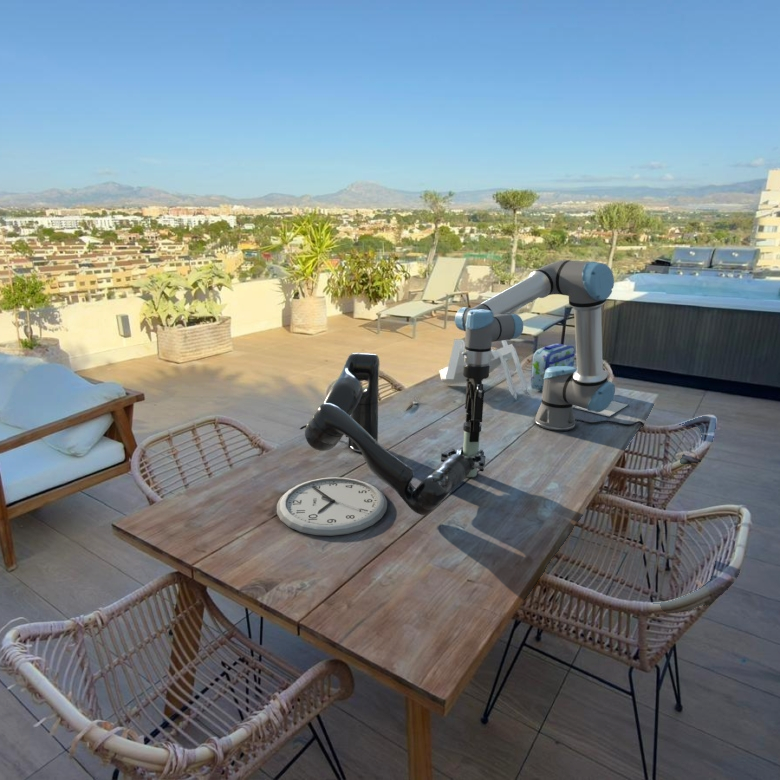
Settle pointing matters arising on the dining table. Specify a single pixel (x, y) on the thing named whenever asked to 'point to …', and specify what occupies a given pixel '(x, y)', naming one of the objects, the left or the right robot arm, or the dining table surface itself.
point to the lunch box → (550, 361)
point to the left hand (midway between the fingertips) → (473, 450)
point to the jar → (470, 451)
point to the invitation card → (607, 409)
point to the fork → (413, 403)
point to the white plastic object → (502, 355)
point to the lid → (467, 427)
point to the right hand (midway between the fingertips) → (471, 437)
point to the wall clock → (331, 506)
